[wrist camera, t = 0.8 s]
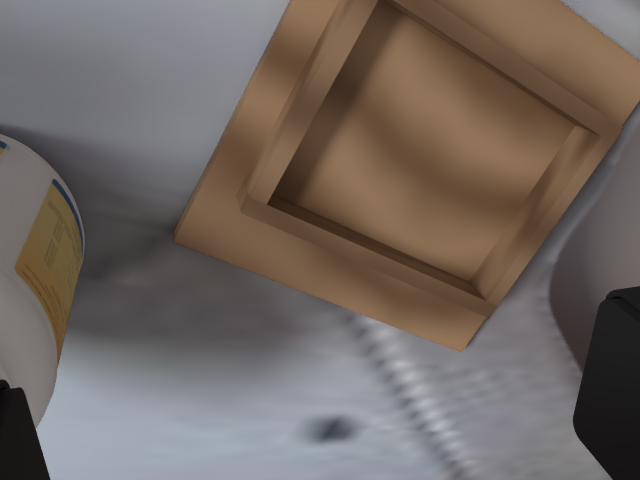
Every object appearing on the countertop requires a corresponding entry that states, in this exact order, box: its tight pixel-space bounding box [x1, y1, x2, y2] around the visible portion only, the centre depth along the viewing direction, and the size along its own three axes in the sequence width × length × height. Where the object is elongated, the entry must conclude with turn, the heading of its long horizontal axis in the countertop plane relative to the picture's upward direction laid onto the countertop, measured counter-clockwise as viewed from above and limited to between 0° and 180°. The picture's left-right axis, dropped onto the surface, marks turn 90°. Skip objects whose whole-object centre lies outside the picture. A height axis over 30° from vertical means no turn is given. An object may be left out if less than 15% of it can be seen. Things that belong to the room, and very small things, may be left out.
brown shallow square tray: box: [173, 0, 640, 352], centre depth 36 cm, size 22×22×4 cm
